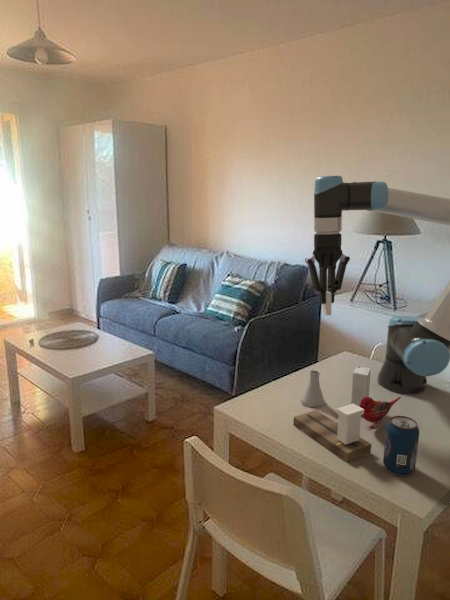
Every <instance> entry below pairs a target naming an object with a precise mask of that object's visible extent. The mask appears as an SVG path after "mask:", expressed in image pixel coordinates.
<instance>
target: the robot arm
mask: <svg viewBox="0 0 450 600" xmlns="http://www.w3.org/2000/svg"><path fill="white" fill-rule="evenodd" d="M313 190H314V192H313V207H314V208H313V209H314V210H313V213H314V214H313V215H314V218H313V219H314V220H313V222H314V223H313V225H314V227H313V229H314V232H315V234H314V235H313V247H314V250H313V251H312V255H311V256H309V257H307V258H305V259H304V261H305V263H306V265H307V266H308V271H309V275H310V278H311V280H310V281H311V282H312V283H311V284H312V288H313V290H314V291H316V292H319V301H320V304H322V314H323V315H325V316H332V304H334V303H335V294H336V293H337V291H340V290H341V289H342V286H343V281H344V277H345V272H346V270H347V269H346V268H347V265H348V264H349V261H350V260H351V257H350V256H348V255H345V254H344V253H343V250H342V234H341V233H340V232H341V231H342V224H343V223H342V221H343V220H342V219H343V218H342V217H343V215H342V213H343V211H344V212H345V211H347V212H348V211H370V212H375V213H381V214H386V215H392V216H396V217H403V218H408V219H413V220H419V221H423V222H424V221H425V222H428V223H430V222H431V223H436V224H440V225H441V224H442V225H444V226H445V225H446V226H450V198H447V197H441V196H437V195H432V194H431V195H430V194H426V193H419V192H413V191H408V190H403V189H398V188H397V189H396V188H391V187H388V184H387V183H386V181H375V180H373V181H359V182H357V181H353V182H344V181H343V177H342V175H321V176H318V177H316V179H315V180H314V189H313ZM338 262H339V263H338ZM315 263H318V269H319V276H318V272H317V266H316V265H315ZM337 263H338V266H337ZM336 269H337V271H336ZM385 348H386V349H385V359H384V361H383V364H382V366H381V368H380V371H379V372H378V375H377V383H378V385H380V386H381V388H382V387H383V388H384V389H386V390H389V391H392V392H395V393H400V394H409V395H412V394H415V395H416V394H420V393H423V392H425V391H426V390H427V384H428V380H427V377H431V376H435V375H439V374H440V373H442V372H443V371H444V370H445V369H446V368H447V367H448V365H449V363H450V280H449V281H448V283H447V284H446V286H445V287H444V289H443V290H442V291H441V293H440V295H439V296H438V297H437V300H436V301H435V302H434V304H433V305H432V307H431V308H430V310H429V311H428V312H427V314H426V316H425V317H420V316H411V315H395V316H394V315H393V316H391V317H390V318H389V321H388V325H387V340H386V347H385Z"/></svg>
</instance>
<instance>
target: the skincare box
mask: <svg viewBox="0 0 450 600" xmlns="http://www.w3.org/2000/svg"><path fill="white" fill-rule="evenodd" d="M370 381H371V368H369V367H363V366H356V367H355V369H354V371H353V373H352V386H351V401H350V404H355V405H357V406H360V403H361V400H362V399H363V398H364V397H370V385H371V382H370Z"/></svg>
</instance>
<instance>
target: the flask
mask: <svg viewBox="0 0 450 600" xmlns="http://www.w3.org/2000/svg"><path fill="white" fill-rule="evenodd" d="M308 373H309V379H308V383H307V386H306V389H305V391H304V393H303V395H302V397H301V399H300V402H301V404H302V405H303V406H304V407H310V408H323V407H324V405H325V404H326V402H325V398H324V394H323V393H322V388H321V385H320V375H321V371H319V370H317V369H310V370H309V372H308Z"/></svg>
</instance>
